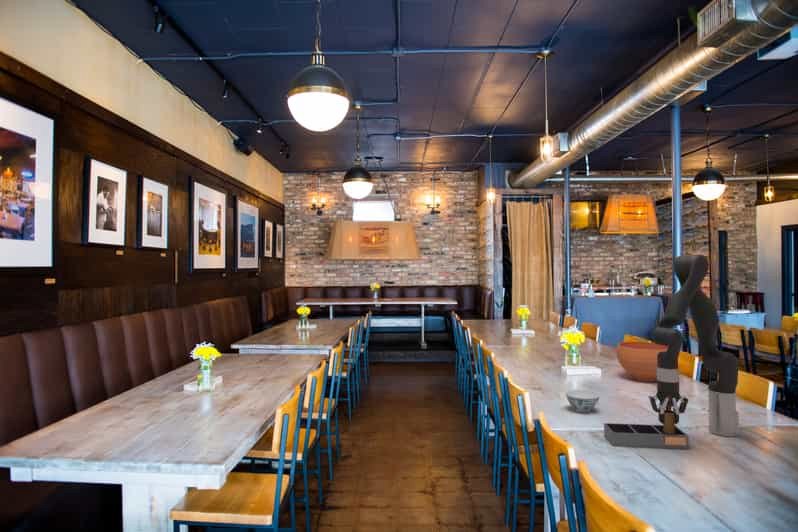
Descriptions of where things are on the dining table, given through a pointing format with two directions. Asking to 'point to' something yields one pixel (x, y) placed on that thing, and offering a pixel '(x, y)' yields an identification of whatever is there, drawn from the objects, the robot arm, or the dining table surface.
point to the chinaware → (582, 399)
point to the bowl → (640, 358)
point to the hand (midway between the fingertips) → (668, 423)
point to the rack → (644, 436)
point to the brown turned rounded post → (669, 420)
